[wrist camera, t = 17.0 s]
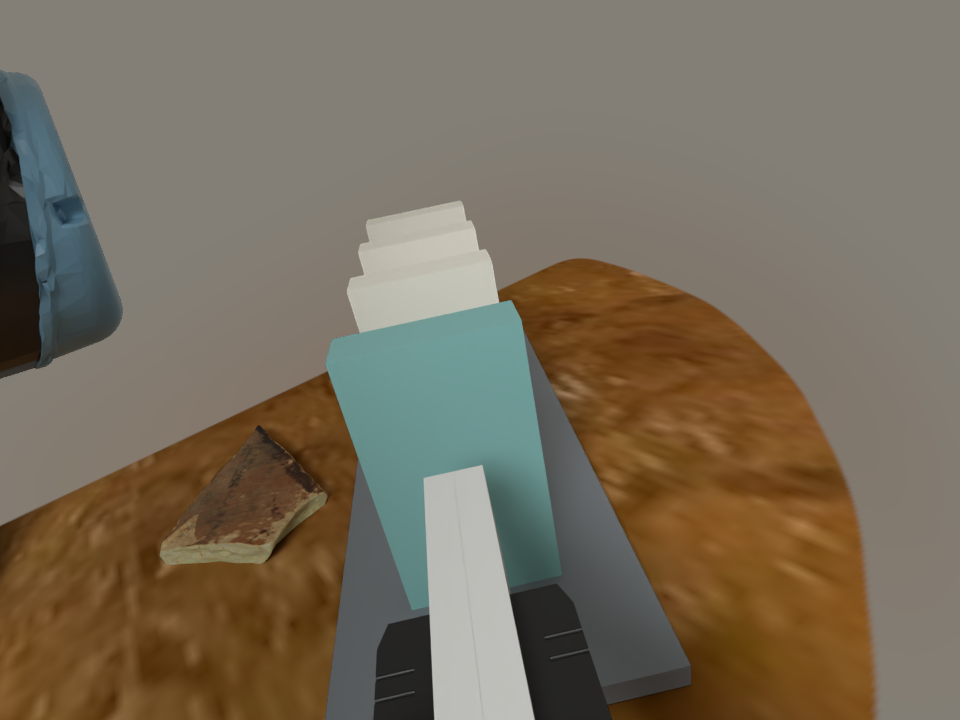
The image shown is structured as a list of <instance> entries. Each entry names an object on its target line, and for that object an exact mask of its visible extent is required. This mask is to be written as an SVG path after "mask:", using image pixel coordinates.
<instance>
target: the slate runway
mask: <svg viewBox="0 0 960 720" xmlns="http://www.w3.org/2000/svg"><path fill="white" fill-rule="evenodd" d="M523 333H524V339H525V345H526V351H527V358H528V364H529V370H530V376H531V383H532V389H533V395H534V401H535V408H536V414H537V420H538V427H539V433H540V439H541V445H542V452H543V458H544V464H545V470H546V477H547V483H548V489H549V495H550V502H551V508H552V514H553V521H554V527H555V533H556V539H557V546H558V552H559V558H560V564H561V571H562V575H561V576H557V577H553V578H548V579H544V580H540V581H536V582H531V583H527V584H523V585H518V586H514V587H510V588H509V589H510V594H513V593H518V592H522V591H526V590H531V589H535V588H539V587H544V586H548V585H552V584H558V585H559V586H560V588H561V589H562V590H563V591H564V592H565V593H566V594H567V595H568V597H569V598H570V599H571V600H572V601H573V602H574V605H575V608H576V611H577V614H578V617H579V620H580V623H581V626H582V630H583V632H584V636H585V639H586V642H587V645H588V648H589V652H590V654H591V657H592V660H593V663H594V666H595V669H596V672H597V675H598V678H599V681H600V684H601V687H602V690H603V693H604V697H605V700H606V703H607V705H609V704H613V703H617V702H621V701H625V700H629V699H633V698H638V697H642V696H646V695H650V694H654V693H658V692H663V691H667V690H671V689H675V688H679V687H683V686H687V685H691V665H690V663H689V661H688V659H687V657H686V655H685V653H684V651H683V649H682V647H681V645H680V643H679V641H678V639H677V637H676V635H675V633H674V631H673V629H672V627H671V625H670V623H669V621H668V619H667V617H666V615H665V613H664V611H663V609H662V607H661V605H660V603H659V601H658V599H657V597H656V595H655V593H654V591H653V589H652V587H651V585H650V583H649V581H648V579H647V577H646V574H645V572H644V570H643V568H642V566H641V564H640V562H639V560H638V558H637V556H636V554H635V552H634V550H633V548H632V546H631V544H630V542H629V540H628V538H627V536H626V534H625V532H624V530H623V528H622V526H621V524H620V522H619V520H618V518H617V516H616V514H615V512H614V510H613V508H612V506H611V504H610V502H609V500H608V498H607V496H606V494H605V492H604V490H603V488H602V486H601V484H600V482H599V480H598V478H597V476H596V474H595V472H594V470H593V468H592V466H591V464H590V462H589V460H588V458H587V456H586V454H585V452H584V450H583V448H582V446H581V444H580V442H579V440H578V438H577V436H576V434H575V432H574V430H573V428H572V426H571V424H570V422H569V420H568V418H567V416H566V414H565V412H564V410H563V408H562V406H561V404H560V402H559V400H558V398H557V396H556V394H555V392H554V390H553V388H552V386H551V384H550V382H549V380H548V378H547V376H546V374H545V372H544V370H543V368H542V366H541V364H540V362H539V360H538V358H537V356H536V354H535V352H534V350H533V348H532V346H531V344H530V342H529V340H528V338H527V336H526V334H525V332H524V330H523ZM429 614H430V612H429V606H428V607H424V608H420V609H415V610H412V609H411V606H410V603H409V600H408V598H407V595H406V592H405V589H404V586H403V583H402V581H401V578H400V575H399V572H398V569H397V566H396V564H395V561H394V558H393V555H392V552H391V549H390V546H389V544H388V541H387V538H386V535H385V532H384V529H383V527H382V524H381V521H380V518H379V515H378V512H377V510H376V507H375V504H374V501H373V498H372V495H371V492H370V490H369V487H368V484H367V481H366V478H365V475H364V473H363V470H362V467H361V464H360V461H359V458H358V463H357V471H356V479H355V487H354V495H353V503H352V511H351V519H350V526H349V534H348V542H347V550H346V558H345V566H344V574H343V582H342V590H341V597H340V605H339V613H338V621H337V629H336V637H335V645H334V653H333V661H332V669H331V676H330V684H329V692H328V700H327V708H326V716H325V720H373V715H374V705H375V700H374V696H375V682H376V657H377V648H378V646H379V644H380V641H381V639H382V637H383V634H384V632H385V630H386V628H387V625H388V624H390V623H394V622H399V621H403V620H407V619H412V618H416V617H420V616H425V615H429Z"/></svg>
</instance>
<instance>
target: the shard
mask: <svg viewBox="0 0 960 720" xmlns="http://www.w3.org/2000/svg"><path fill="white" fill-rule="evenodd" d="M327 497H328V496H327V493H326V492H325V490H324V489H322V488H321V487H320V486H319V485H318V484H317V483H316V482H315V481H314V480H313V478H312V477H311V476H310V475H309V474H308V473H306V472H304V470H303V468H302V467H301V465H299V464H298V463H297V462H296V461H295V460H294V458H293V457H292V456H291V455H290V454H289V453H288V452H287V451H286V450H285V449H284V448H283V447H282V446H281V445H279V444H278V443H277V442H276V441H274V440H272V439H271V438H270V437H269V436H268V435H267V434H266V430H264V429H263V428H262V427H261V426H260V425H258V426H257V427H256V429H255V431H254V433H253V434H252V435H251V436H250V437H249V438H248V439H247V440H246V441H245V443H244V444H243V445H242V447H241V449H240V450H239V451H238V452H237V453H236V454H235V455H234V457H233V458H232V459H231V460H229V461H228V463H227V464H226V465H225V466H223V467H222V468H221V470H220V471H219V472H218V473H217V474H216V475H215V476H214V478H213V479H212V480H211V482H210V483H209V484H208V485H207V486H206V487H205V488H204V489H203V490H202V491H201V493H200V494H199V495H198V496H197V498H196V499H195V501H194V502H193V503H192V504H191V505H190V506H189V507H188V508H187V510H186V511H185V512H184V514H183V515H182V516H181V517H180V519H179V521H178V522H177V525H176V526H175V527H174V528H173V530H172V531H171V532H170V533H169V534H168V536H167V537H166V538H165V539H164V541H163V543H162V545H161V551H160V557H161V558H162V559H163V561H165V562H166V563H167V564H168V565H176V564H190V563H208V562H217V561H222V562H232V563H257V564H262V563H264V562H265V561H266V560H267V559H268V557H269V556H270V555H271V553H272V550H273V549H274V547H275V545H276V544H277V543H278V542H280V541H281V540H282V539H283V538H284V537H285V536H286V535H287V534H288V533H289V532H290V531H291V530H293V529H294V528H295V527H296V526H297V525H298V524H300V523H301V522H302V521H303V520H305V519H306V518H308V517H309V516H310V515H312V514H313V513H314V512H315V511H316V510H318V509H320V508H321V507H322V506H323V505H325V504H326V503H327V502H326V500H327Z"/></svg>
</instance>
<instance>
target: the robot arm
mask: <svg viewBox="0 0 960 720" xmlns="http://www.w3.org/2000/svg"><path fill="white" fill-rule="evenodd" d="M122 313H123V307H122V303H121V299H120V296H119V294H118V291H117V288H116V285H115V283H114V280H113V278H112V275H111V272H110V270H109V267H108V264H107V262H106V259H105V256H104V254H103V251H102V248H101V246H100V243H99V241H98V238H97V235H96V233H95V230H94V227H93V225H92V222H91V220H90V217H89V214H88V211H87V209H86V206H85V203H84V201H83V198H82V196H81V193H80V191H79V188H78V185H77V183H76V180H75V178H74V175H73V172H72V170H71V167H70V164H69V162H68V159H67V156H66V153H65V151H64V148H63V146H62V143H61V140H60V138H59V136H58V133H57V130H56V127H55V125H54V122H53V119H52V117H51V114H50V112H49V109H48V106H47V104H46V101H45V99H44V96H43V94H42V91H41V89H40V86H39V85H38V83H37V82H36V81H35V80H34V79H33V78H31V77H30V76H28V75H26V74H22V73H12V72H8V73H7V72H4V71H2V70H0V379H1V378H4V377H7V376H10V375H13V374H17V373H20V372H23V371H26V370H29V369H33V368H36V369H38V368H42V367H45V366H47V365H49V364H50V363H51V362H52V360H53V359H55V358H57V357H60V356H63V355H65V354H68V353H70V352H73V351H76V350H78V349H81V348H83V347H86V346H89V345H92V344H94V343H97V342H99V341H102V340H104V339H105V338H107V337H109V336H110V335H111V334H112V333H113V332H114V331H115V330H116V329H117V327H118V326H119V324H120V321H121V319H122ZM423 479H424V501H425V523H426V546H427V568H428V590H429V612H430V614H429V615H425V616H420V617H416V618H412V619H407V620H403V621H399V622H394V623H390V624H388V625H387V628H386V630H385V632H384V634H383V637H382V639H381V641H380V644H379V646H378V648H377V657H376V682H375V696H374V700H375V705H374V715H373V720H612V718H611V715H610V712H609V709H608V706H607V703H606V700H605V697H604V693H603V690H602V687H601V684H600V681H599V678H598V675H597V672H596V669H595V666H594V663H593V660H592V657H591V654H590V652H589V648H588V645H587V642H586V639H585V636H584V632H583V630H582V626H581V623H580V620H579V617H578V614H577V611H576V608H575V605H574V602H573V601H572V600H571V599H570V598H569V597H568V595H567V594H566V593H565V592H564V591H563V590H562V589H561V588H560V586H559V585H558V584H552V585H548V586H544V587H539V588H535V589H531V590H526V591H522V592H518V593H513V594H510V589H509V584H508V579H507V574H506V569H505V565H504V560H503V555H502V550H501V545H500V541H499V536H498V532H497V528H496V523H495V519H494V514H493V510H492V505H491V501H490V496H489V492H488V487H487V483H486V479H485V474H484V470H483V465H480V466H475V467H471V468H466V469H462V470H457V471H453V472H448V473H444V474H440V475H435V476H431V477H426V478H423Z"/></svg>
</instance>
